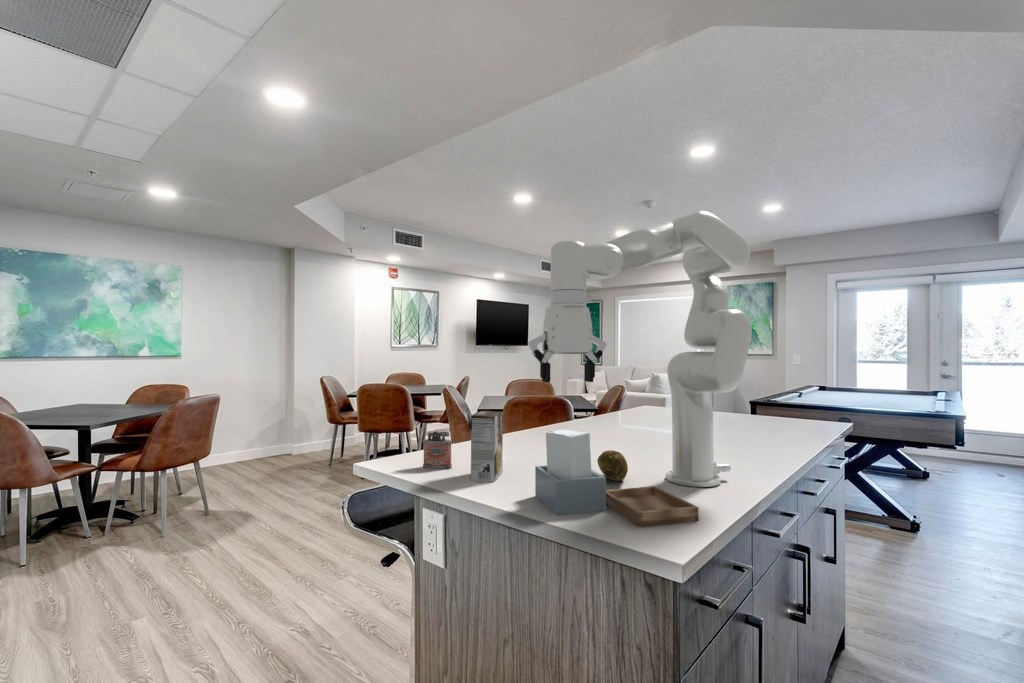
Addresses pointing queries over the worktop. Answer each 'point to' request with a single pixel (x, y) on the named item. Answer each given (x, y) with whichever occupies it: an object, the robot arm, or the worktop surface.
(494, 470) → the coffee box
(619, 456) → the potato
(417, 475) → the worktop surface
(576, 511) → the grey open box frame
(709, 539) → the worktop surface
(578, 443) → the skincare box
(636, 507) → the tray
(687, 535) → the worktop surface
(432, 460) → the lighter
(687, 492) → the worktop surface
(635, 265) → the robot arm
